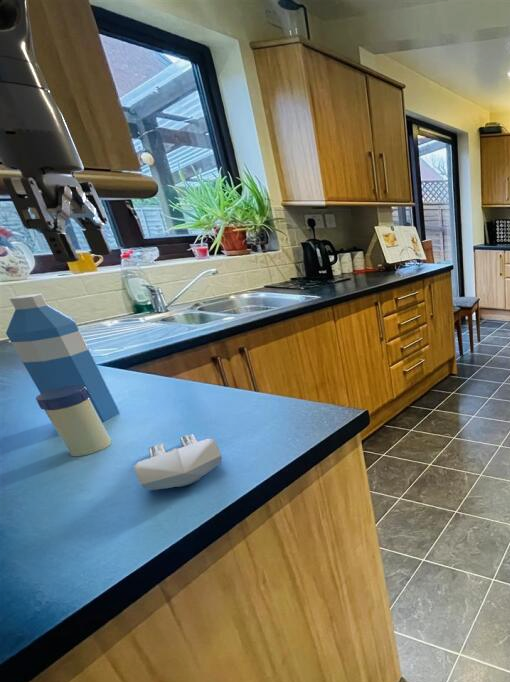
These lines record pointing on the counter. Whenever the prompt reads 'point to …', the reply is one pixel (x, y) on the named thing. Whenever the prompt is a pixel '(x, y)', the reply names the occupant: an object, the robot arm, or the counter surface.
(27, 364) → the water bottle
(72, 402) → the lid
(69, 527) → the counter surface
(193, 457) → the white elongated knobbed piece
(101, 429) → the jar
